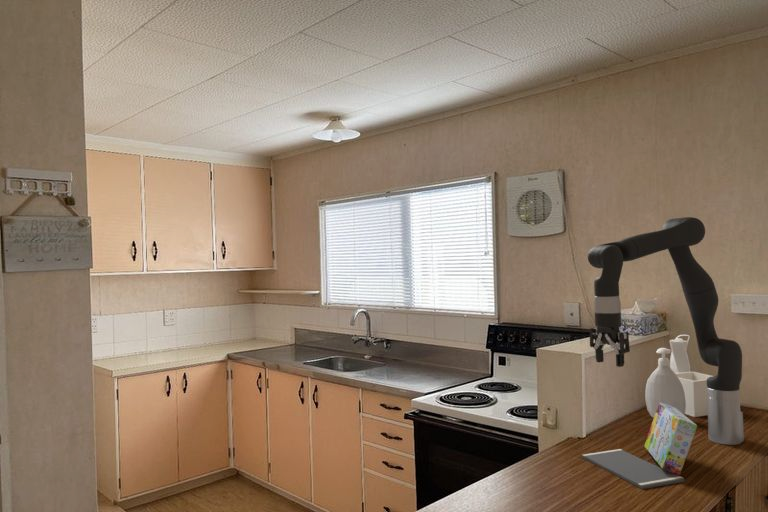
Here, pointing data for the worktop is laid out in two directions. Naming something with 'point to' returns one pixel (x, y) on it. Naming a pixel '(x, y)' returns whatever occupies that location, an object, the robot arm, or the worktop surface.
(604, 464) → the gray tablet computer
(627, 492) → the worktop surface
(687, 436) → the snack box
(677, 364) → the white twisted bottle
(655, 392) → the soap bottle
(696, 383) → the utensil crock
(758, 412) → the worktop surface
